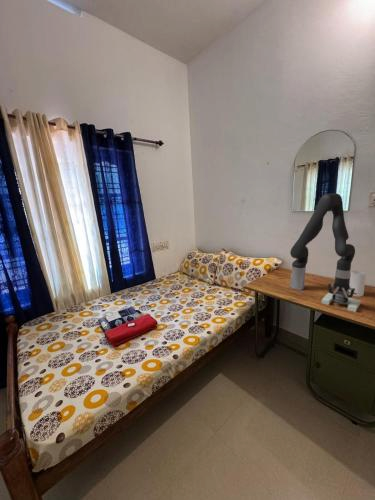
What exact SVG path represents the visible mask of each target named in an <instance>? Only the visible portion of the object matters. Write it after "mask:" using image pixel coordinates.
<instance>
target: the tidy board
mask: <svg viewBox="0 0 375 500" xmlns="http://www.w3.org/2000/svg"><path fill="white" fill-rule="evenodd" d="M347 292H348V294H349V293H351V292H349V290H347ZM354 294H355V295H356V294H357V293H354ZM332 296H333V294H331V293H329V292H327V294H325V296H324V297H323V298H322V299H321V304H322V305H323V304H324V305H327V306H328V305H330V304H331V303H332V302H335V301H334V300H333V299H332ZM344 305H347V311H351V312H353V313H356V312H357V310H358V308H359V306H361V299H355V298H353V297H352V298H348V302H347V303H345V304H344Z"/></svg>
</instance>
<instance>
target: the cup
mask: <svg viewBox="0 0 375 500" xmlns="http://www.w3.org/2000/svg"><path fill="white" fill-rule="evenodd" d="M350 273H351V274H350V275H351V276H350V283H349V286H350V287H351V288H355V291H354V293H357V294H356V295H355V294H353V297H354V296H355V297H363V296H364V293H365V285H366V277H367V272H366V271H363V270H358V269H357V270H355V269H354V270H350ZM348 291H349V292H351V291H350V289H349V290H348ZM348 295H350V293H348Z"/></svg>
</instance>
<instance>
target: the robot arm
mask: <svg viewBox="0 0 375 500" xmlns="http://www.w3.org/2000/svg"><path fill="white" fill-rule="evenodd" d="M330 210H331V211H332V225H331V226H332V227H331V229H332V234H333V237H334V251H335V253H336V255H337V256H338V257H340V258H339V259H338V260H337V262H336V269H335V274H334V283H330V282H329V284H328V286H327V287H328V293H331V294H333V296H332V299H333V300H334V301H333V302H335V294H336V292H342V293H344V295H345V303H347V302H348V298H352V299H353V297H354V295H353V294H354V291H355V288H351V287H350V286H349V285H350V277H351V268H352V262H353V260H354V257H355V255H356V249H355V245H353V244H351V243H347V240H349V237H350V236H349V233H348V230H347V229H348V228H347V226H346V222H345V215H344V213H345V212H344V205H343V197H342V196H341V194H339V193H325V194H324V195H322V196H321V197H320V198H319V200H318V202H317V204H316V207H315V209H314V211H313V214H312V215H311V217H310V219H309V221H308V222H307V223H306V225H305V226H304V229H303V230H302V232H301V234H300V235H299V237H298V239H297V240H296V242H295V243H294V244H293V246H292V247H291V249H290V253H289V254H290V256H291V257H292V258H293V259H294V261H293V262H292V265H291V275H290V277H289V278H290V279H289V280H290V281H289V288H290V289H293V290H297V291H302V290H304V289H305V281H306V270H307V269H306V266H307V264H308V259H309V248H308V247H307V245H308V244H309V243H310V242H312V241H313V240H314V239H316V238H317V237H318V235H319V234H320V232H321V231H322V229H323V225H324V217H325V216H326V215H327V212H328V211H330ZM333 287H334V289H335V290H333ZM349 289H350V291H351V293H350V294H349V293H348V292H347V290H348V291H349Z"/></svg>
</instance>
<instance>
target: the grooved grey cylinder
mask: <svg viewBox="0 0 375 500" xmlns="http://www.w3.org/2000/svg"><path fill="white" fill-rule="evenodd" d="M334 303H336V304H338V305H346V304H345V295H344V293H343V292H339V291H337V292H336V294H335V301H334Z"/></svg>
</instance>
